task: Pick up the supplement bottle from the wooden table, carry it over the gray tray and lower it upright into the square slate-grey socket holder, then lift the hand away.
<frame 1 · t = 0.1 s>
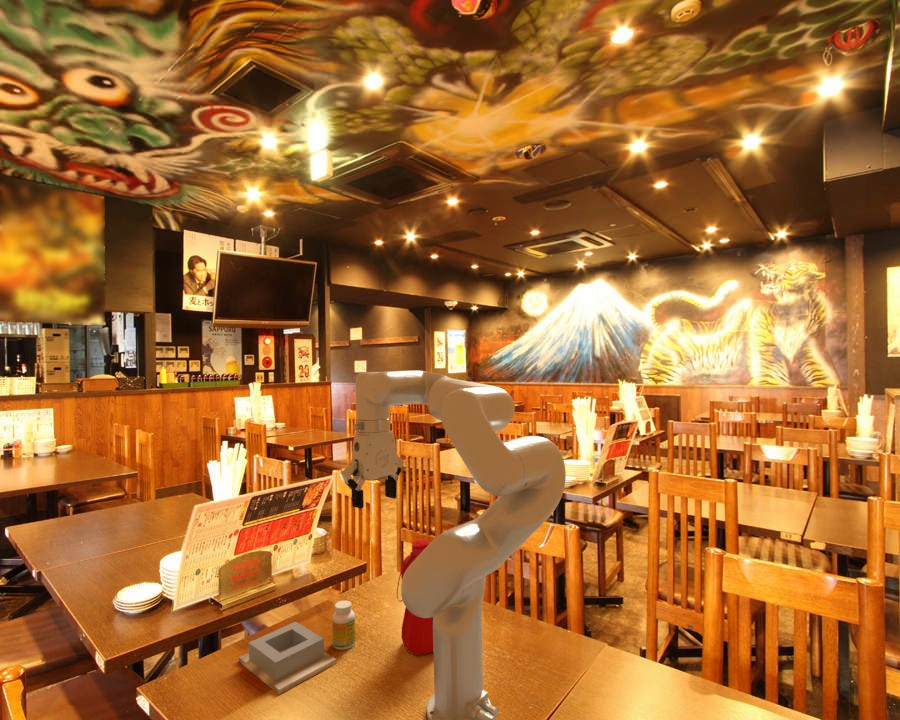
hand: (374, 502, 114), 37 cm above the table, tool pointing down, fingers open, 9 cm apart
socket holder: (286, 649, 116), on the gray tray, point 3 cm above the table
gray tray: (286, 662, 116), on the table
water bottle: (419, 647, 121), on the table
supplement bottle: (344, 645, 123), on the table
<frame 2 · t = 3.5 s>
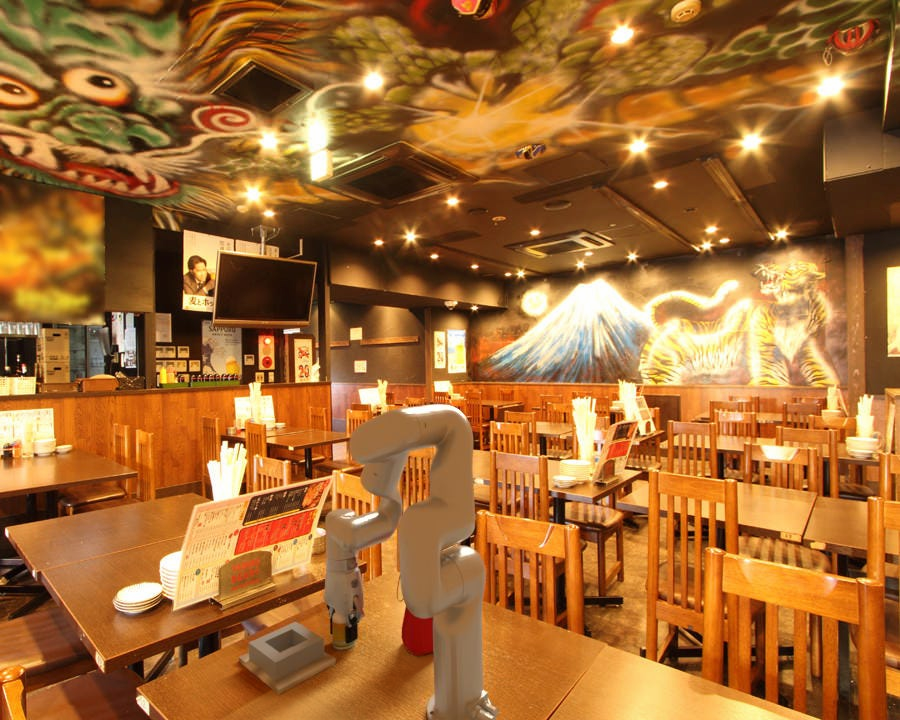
hand: (343, 635, 123), 2 cm above the table, tool pointing down, fingers closed on supplement bottle, 5 cm apart
supplement bottle: (344, 644, 123), on the table, touching gripper
everything else where it was.
when the fingers open (5 cm above the table, at t = 9.4 s): supplement bottle drops 2 cm, resting on gray tray.
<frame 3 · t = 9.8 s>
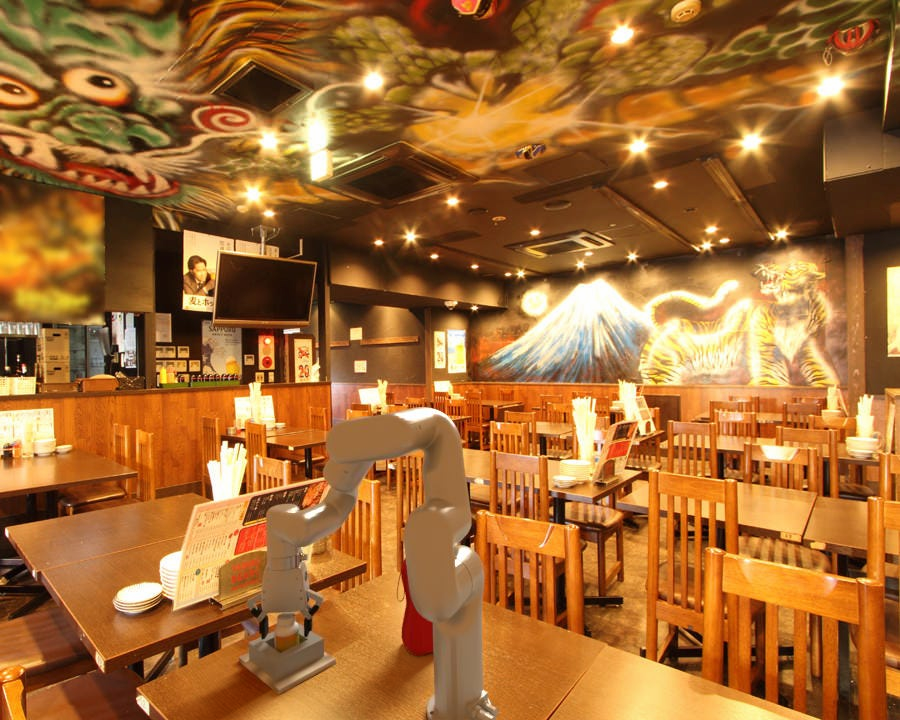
hand: (286, 635, 116), 6 cm above the table, tool pointing down, fingers open, 9 cm apart
supplement bottle: (287, 658, 116), point 1 cm above the table, touching gray tray
everything else where it was.
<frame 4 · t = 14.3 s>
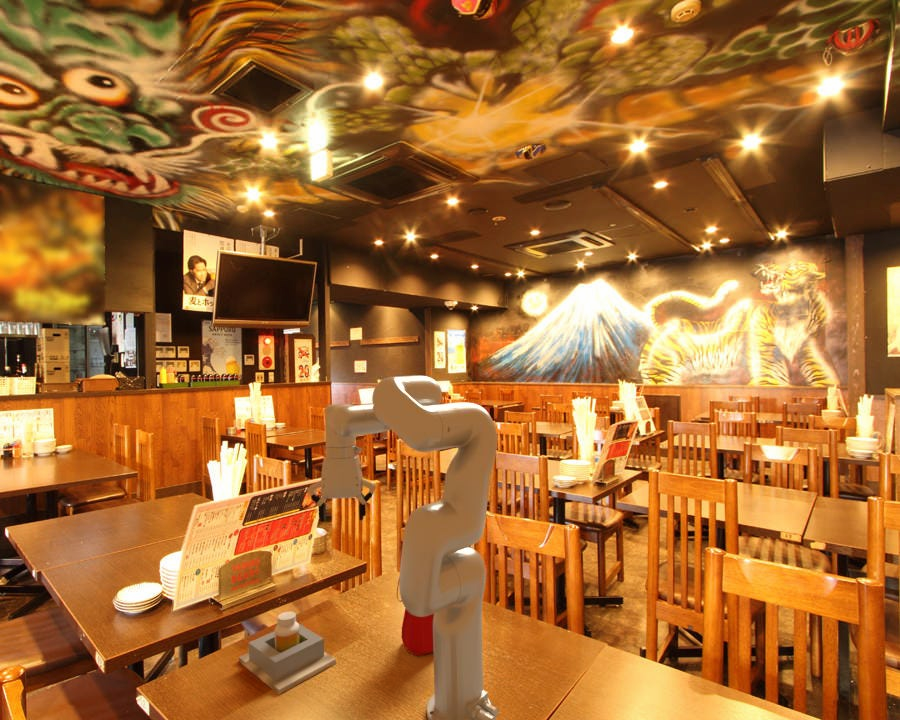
hand: (342, 519, 129), 28 cm above the table, tool pointing down, fingers open, 9 cm apart
nothing on the table moved.
at the end: supplement bottle 0.2 cm off-centre on the socket holder, point 0.8 cm above the socket holder's base; supplement bottle tilted 1°; the gripper is holding nothing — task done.
